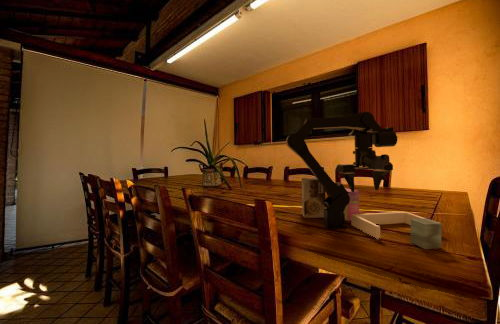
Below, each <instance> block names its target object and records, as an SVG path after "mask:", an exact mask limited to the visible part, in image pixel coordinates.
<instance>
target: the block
mask: <svg viewBox="0 0 500 324" xmlns="http://www.w3.org/2000/svg"><path fill="white" fill-rule="evenodd" d="M424 218H425V219H411V225H410V240H409V241H410V243H411V244H413V245H415V246H418V247H419V248H421V249H424V250H431V249H432V250H433V248H434V249H442V234H443V233H442V232H443V227H442V226H443V223H442V222H439V223H438V221H436V220H433V221H432V219H429V218H426V217H424ZM435 221H436V222H435Z"/></svg>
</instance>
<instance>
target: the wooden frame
mask: <svg viewBox="0 0 500 324" xmlns="http://www.w3.org/2000/svg"><path fill="white" fill-rule="evenodd" d="M425 218H426V217H423V216H420V215H417V214H413V213H412V212H408V211H390V212H370V213H359V214H351V221H350V223H351V224H350V225H351V226H353V227H354V228H355V229H358V230H359V229H360V230H359V231H361V230H362V231H361V232H363V233H365V234H366V233H367V234H366V235H368V234H369V235H368V236H370V235H371V236H370V237H372V236H373V237H375V238H376V239H375V238H374V239H375V240H380V239H381V226H380V225H392V224H393V225H394V224H395V225H396V224H406V225H409V226H411V219H425ZM431 220H432V219H431ZM432 221H435V222H438V221H436V220H432ZM438 223H440V222H438ZM376 224H379V225H376ZM373 237H372V238H373ZM379 238H380V239H379Z"/></svg>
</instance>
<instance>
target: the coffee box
mask: <svg viewBox="0 0 500 324" xmlns="http://www.w3.org/2000/svg"><path fill="white" fill-rule="evenodd" d="M325 199H326V191H325V189H324V187H323V185H322V184H321V183H320V181H319V180H318V179H317V178H316V177H302V178H301V215H302V216H303V218H307V219H308V218H312V219H313V218H316V219H317V218H318V219H319V218H322V219H324V208H326V207H325V206H324V204H323V201H324V200H325Z"/></svg>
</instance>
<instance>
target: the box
mask: <svg viewBox="0 0 500 324" xmlns="http://www.w3.org/2000/svg"><path fill="white" fill-rule="evenodd" d="M344 188H345V189H346V190H347V191H348V192H349V193H348V195H349V196H350V202H349V204H348V205H347V206H346V207H345V210H344V214H345V222H351V214H360V191H359V190H357V189H354V192H352V191H351V189H350V188H346V187H344Z"/></svg>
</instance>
